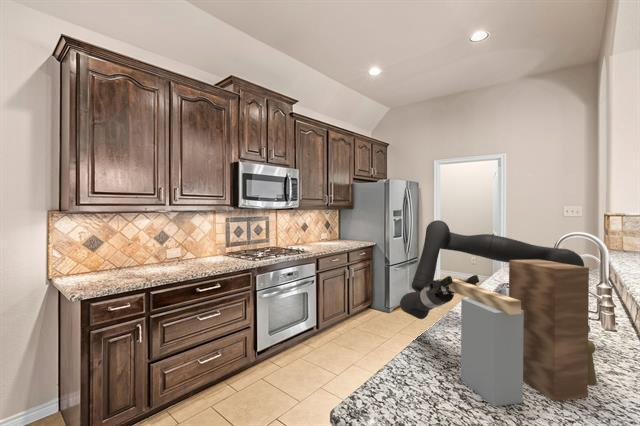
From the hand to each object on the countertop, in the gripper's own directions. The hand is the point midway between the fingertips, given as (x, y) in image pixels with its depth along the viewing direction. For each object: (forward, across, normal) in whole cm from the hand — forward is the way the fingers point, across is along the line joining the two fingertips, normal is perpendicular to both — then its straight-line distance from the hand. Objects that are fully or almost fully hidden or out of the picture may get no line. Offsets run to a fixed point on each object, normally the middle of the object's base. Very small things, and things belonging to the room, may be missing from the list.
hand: (464, 278), depth 89 cm
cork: (-4, +29, +28) cm, 41 cm away
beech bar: (+3, 0, +7) cm, 7 cm away
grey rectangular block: (-4, 0, +28) cm, 28 cm away
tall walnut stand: (-4, +17, +28) cm, 33 cm away
